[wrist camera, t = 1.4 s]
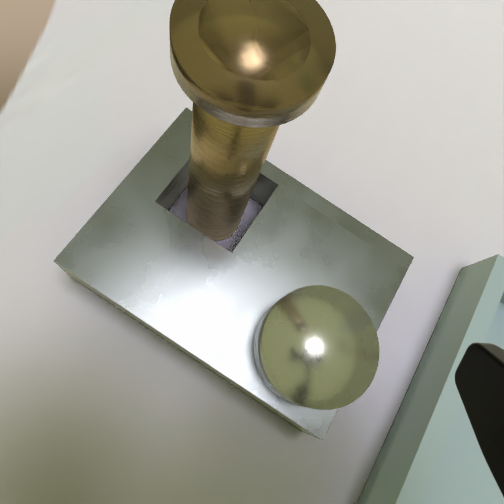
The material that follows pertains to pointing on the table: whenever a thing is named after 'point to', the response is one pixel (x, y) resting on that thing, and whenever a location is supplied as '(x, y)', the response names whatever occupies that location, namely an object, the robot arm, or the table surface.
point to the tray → (443, 406)
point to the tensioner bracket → (247, 284)
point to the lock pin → (242, 92)
